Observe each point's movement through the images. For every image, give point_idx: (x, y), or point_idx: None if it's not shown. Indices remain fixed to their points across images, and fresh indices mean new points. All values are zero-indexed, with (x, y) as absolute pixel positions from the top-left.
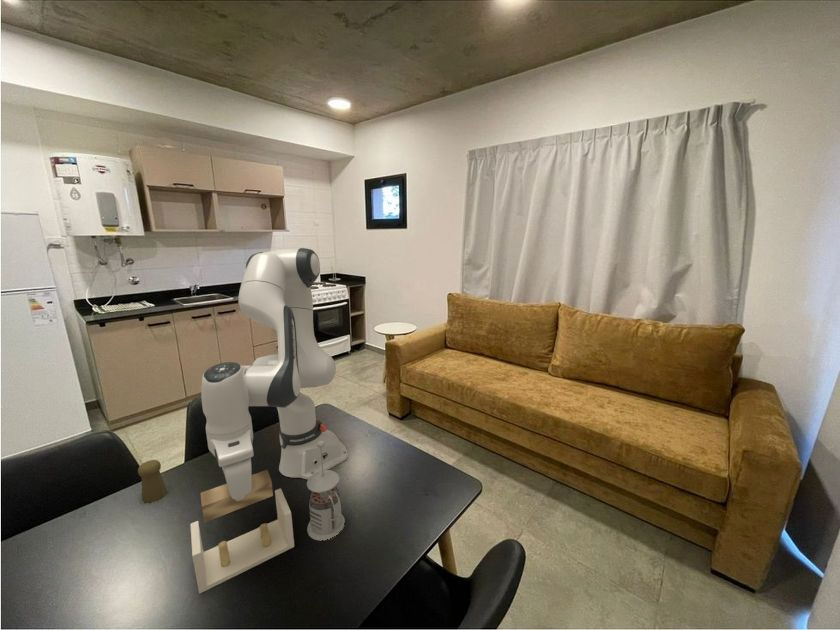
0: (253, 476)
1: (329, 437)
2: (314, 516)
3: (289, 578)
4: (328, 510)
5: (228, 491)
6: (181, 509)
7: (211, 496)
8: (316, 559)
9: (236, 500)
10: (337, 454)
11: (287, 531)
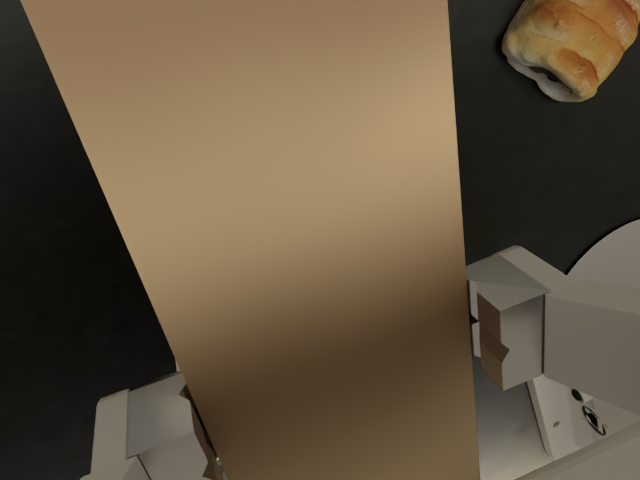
0: (444, 471)
1: None
2: (223, 473)
3: (10, 330)
4: None
5: (288, 296)
6: None
7: (262, 76)
8: (85, 413)
9: (102, 404)
10: (581, 442)
11: (178, 370)
